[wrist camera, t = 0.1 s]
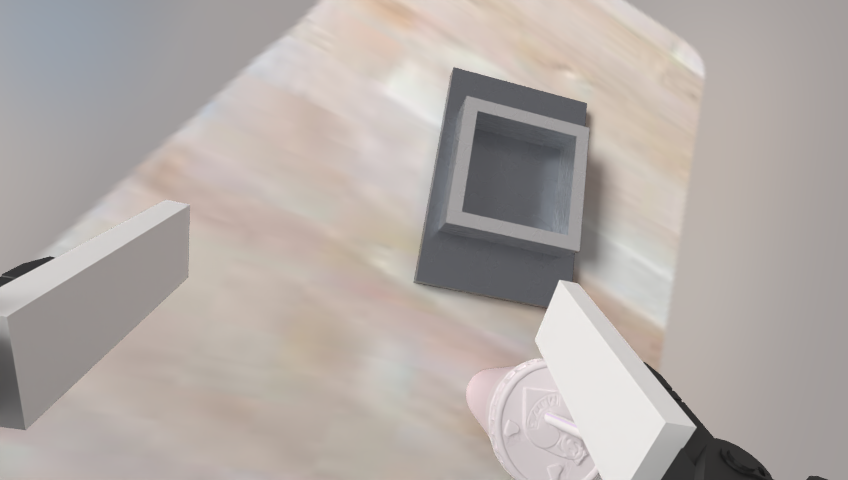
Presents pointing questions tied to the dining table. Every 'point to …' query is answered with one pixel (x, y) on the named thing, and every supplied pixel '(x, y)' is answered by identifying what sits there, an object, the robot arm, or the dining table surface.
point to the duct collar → (505, 191)
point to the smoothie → (529, 423)
